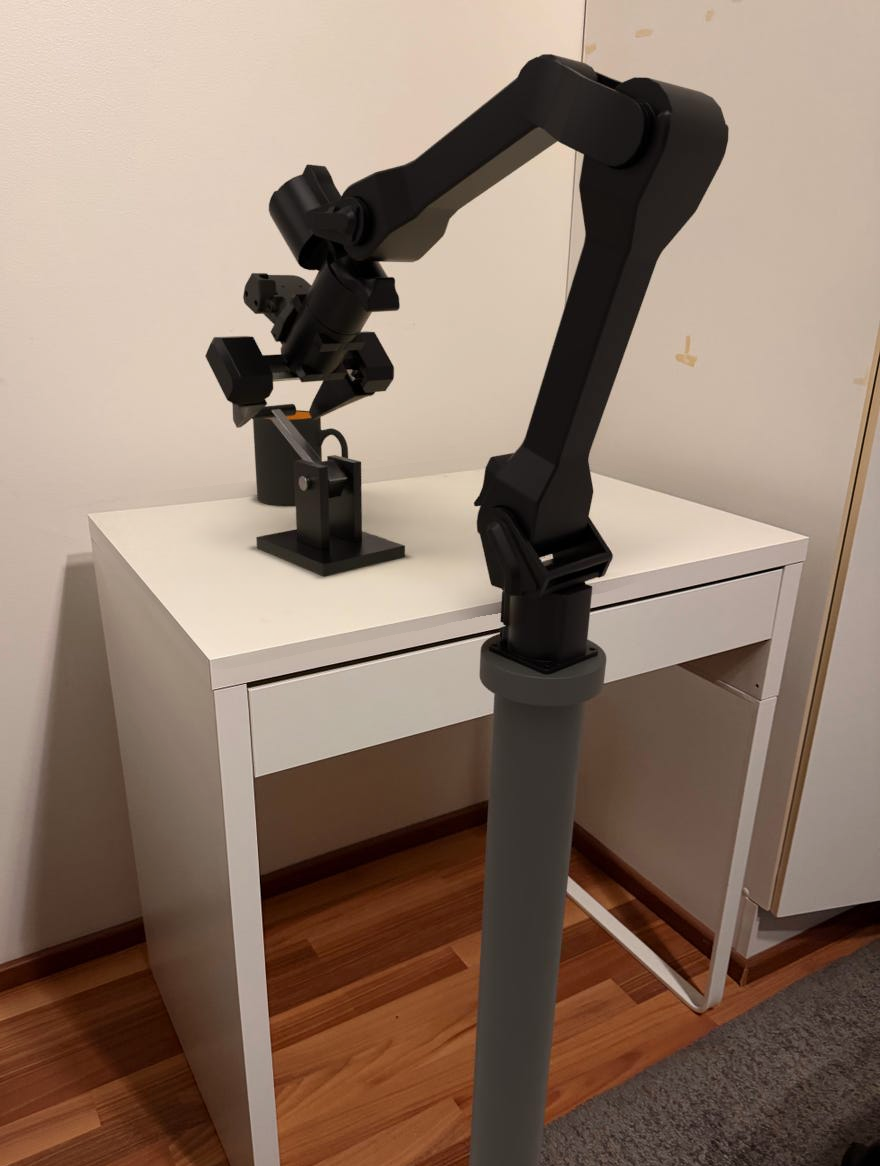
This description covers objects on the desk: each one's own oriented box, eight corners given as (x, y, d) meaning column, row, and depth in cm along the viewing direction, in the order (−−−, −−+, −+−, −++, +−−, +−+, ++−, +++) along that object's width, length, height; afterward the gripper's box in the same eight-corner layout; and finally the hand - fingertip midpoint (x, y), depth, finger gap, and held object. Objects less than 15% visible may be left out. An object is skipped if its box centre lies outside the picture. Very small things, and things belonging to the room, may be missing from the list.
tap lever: (247, 419, 90) (252, 400, 88) (287, 415, 93) (293, 396, 91) (311, 501, 84) (317, 482, 83) (352, 494, 87) (359, 475, 86)
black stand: (256, 548, 90) (251, 457, 86) (335, 531, 96) (333, 446, 92) (323, 576, 81) (320, 478, 78) (405, 556, 87) (406, 464, 84)
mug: (337, 510, 105) (335, 422, 101) (246, 503, 108) (241, 417, 104) (359, 495, 112) (358, 413, 108) (273, 488, 115) (269, 408, 111)
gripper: (377, 245, 86) (316, 354, 98) (207, 238, 75) (162, 363, 87) (428, 333, 83) (359, 434, 95) (260, 341, 72) (206, 454, 84)
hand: (275, 419), depth 90 cm, fingers open, 9 cm apart
